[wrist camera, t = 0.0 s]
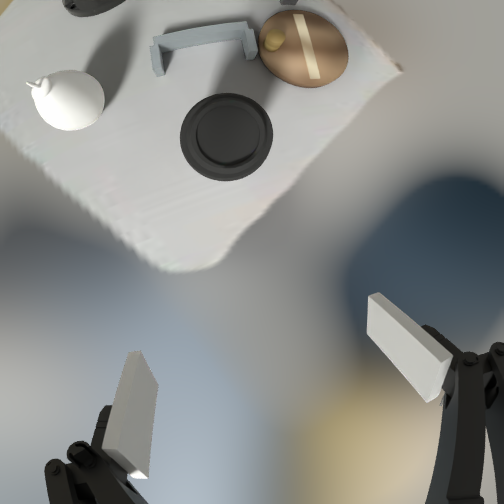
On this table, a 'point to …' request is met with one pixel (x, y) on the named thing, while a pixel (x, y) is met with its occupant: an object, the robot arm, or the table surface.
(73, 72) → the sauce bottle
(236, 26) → the pocket stop
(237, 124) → the coffee cup
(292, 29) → the disc
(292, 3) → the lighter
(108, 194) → the table surface
